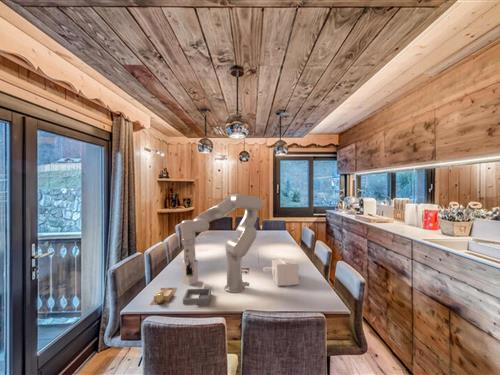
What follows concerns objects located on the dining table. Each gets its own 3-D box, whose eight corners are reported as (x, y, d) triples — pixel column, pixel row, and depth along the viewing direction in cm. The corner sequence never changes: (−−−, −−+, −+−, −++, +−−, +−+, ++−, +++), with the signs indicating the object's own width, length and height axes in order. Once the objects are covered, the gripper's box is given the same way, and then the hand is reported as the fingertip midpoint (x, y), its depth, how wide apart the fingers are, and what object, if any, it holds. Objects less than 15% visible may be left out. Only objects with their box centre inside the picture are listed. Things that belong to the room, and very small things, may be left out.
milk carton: (191, 281, 176) (191, 253, 175) (197, 283, 171) (197, 255, 171) (182, 284, 170) (182, 255, 170) (189, 287, 166) (188, 257, 165)
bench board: (177, 289, 162) (177, 287, 162) (168, 306, 139) (168, 304, 139) (161, 289, 162) (161, 288, 161) (149, 307, 139) (149, 305, 139)
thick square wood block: (172, 295, 151) (172, 290, 151) (168, 301, 143) (168, 295, 143) (159, 295, 151) (159, 289, 151) (153, 301, 143) (153, 295, 143)
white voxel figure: (293, 274, 194) (307, 285, 167) (260, 276, 191) (269, 288, 163) (292, 254, 196) (306, 262, 168) (260, 255, 192) (269, 264, 164)
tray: (211, 294, 155) (211, 288, 155) (209, 305, 141) (209, 298, 141) (187, 295, 154) (187, 289, 154) (182, 306, 140) (182, 299, 140)
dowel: (194, 274, 151) (193, 262, 151) (192, 276, 147) (192, 264, 147) (187, 274, 151) (186, 262, 151) (185, 276, 147) (185, 264, 147)
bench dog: (164, 301, 143) (164, 292, 143) (162, 304, 139) (162, 295, 139) (157, 301, 143) (157, 292, 143) (155, 304, 139) (155, 295, 139)
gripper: (192, 244, 141) (193, 278, 141) (197, 238, 157) (198, 268, 158) (178, 245, 140) (180, 279, 141) (185, 238, 157) (186, 268, 157)
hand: (190, 272), depth 149 cm, fingers closed on dowel, 4 cm apart
